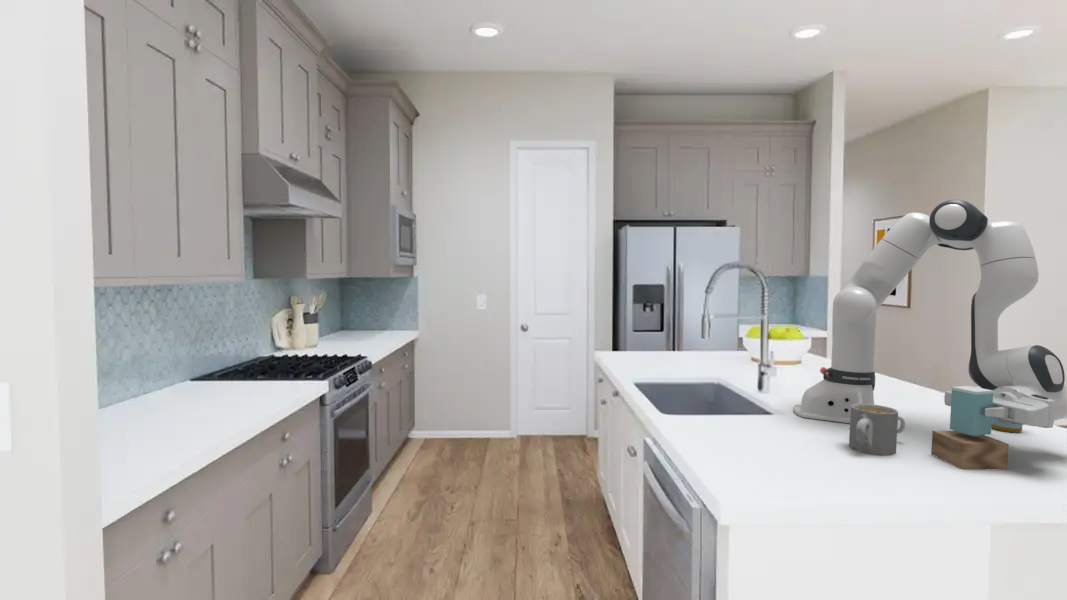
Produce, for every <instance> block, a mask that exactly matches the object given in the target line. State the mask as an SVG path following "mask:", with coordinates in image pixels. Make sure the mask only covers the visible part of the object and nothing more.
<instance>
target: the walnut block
mask: <svg viewBox="0 0 1067 600" xmlns="http://www.w3.org/2000/svg"><path fill="white" fill-rule="evenodd" d="M931 433H932V435H931V448H930V449H931V451H930V455H931V454H932V455H931V456H933V455H935V456H934V457H936V456H937V457H936V458H938V459H940V460H942V461H944V460H945V461H944V462H946V461H947V462H946V463H948V462H949V463H948V464H950V463H951V465H952V464H953V465H952V466H954V465H955V467H956V468H958V469H961V470H987V469H995V470H996V469H997V470H998V469H999V470H998V471H1004V470H1005V471H1008V462H1009V461H1008V460H1009V449H1010V448H1009V447H1010V446H1009V445H1010V444H1009V443H1006V442H1004V441H1002V440H999V439H996V438H993V437H991V436H989V435H978V436H971V435H968V434H964V433H961V432H957V431H954V430H932V431H931ZM997 470H996V471H997Z"/></svg>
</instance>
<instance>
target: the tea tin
mask: <svg viewBox="0 0 1067 600" xmlns="http://www.w3.org/2000/svg"><path fill="white" fill-rule="evenodd" d="M951 390H952V396H951V406H950V417H949V431H957V432H961V433H964V434H968V435H971V436H978V435H986V436H989V435H992V427H991V424H992V416H990V417H988V416H984V415H981V414H980V412H981V408H982V407H989V408H992V407H993V393H994V391H993V390H988V389H983V388H981V387H979V386H978V387H977V386H972V385H963V386H961V385H959V386H951Z"/></svg>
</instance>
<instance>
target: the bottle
mask: <svg viewBox="0 0 1067 600" xmlns="http://www.w3.org/2000/svg"><path fill="white" fill-rule="evenodd" d="M993 428H994V430H996V431H999V430H1000V432H1005V433H1014V432H1016V433H1020V432H1021V431H1023V425H1019V424H1014V425H1011V424H1005V423H1003V422H1001V421H999V420H998V419H997V418H996V417H992V424H991V429H993Z"/></svg>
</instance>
